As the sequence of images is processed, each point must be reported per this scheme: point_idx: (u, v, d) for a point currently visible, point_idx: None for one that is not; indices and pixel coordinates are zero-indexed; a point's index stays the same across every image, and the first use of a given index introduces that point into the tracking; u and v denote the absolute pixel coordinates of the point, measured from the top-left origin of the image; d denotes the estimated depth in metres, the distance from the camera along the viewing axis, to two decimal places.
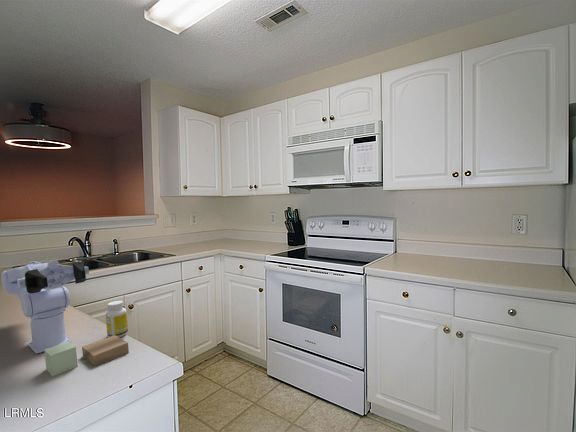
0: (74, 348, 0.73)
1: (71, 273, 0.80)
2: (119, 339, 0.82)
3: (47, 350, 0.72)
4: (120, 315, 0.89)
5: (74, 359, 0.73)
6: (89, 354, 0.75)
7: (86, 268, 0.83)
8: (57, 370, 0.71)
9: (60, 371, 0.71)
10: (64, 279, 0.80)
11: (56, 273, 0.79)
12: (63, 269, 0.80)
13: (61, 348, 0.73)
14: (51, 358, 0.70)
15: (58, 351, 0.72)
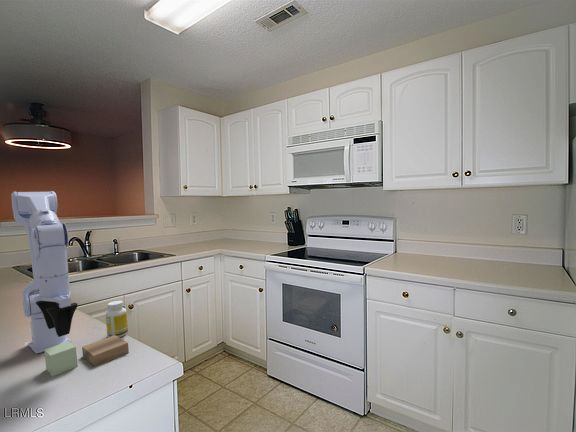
0: (74, 348, 0.73)
1: None
2: (119, 339, 0.82)
3: (47, 350, 0.72)
4: (120, 315, 0.89)
5: (74, 359, 0.73)
6: (89, 354, 0.75)
7: None
8: (57, 370, 0.71)
9: (60, 371, 0.71)
10: None
11: None
12: None
13: (61, 348, 0.73)
14: (51, 358, 0.70)
15: (58, 351, 0.72)
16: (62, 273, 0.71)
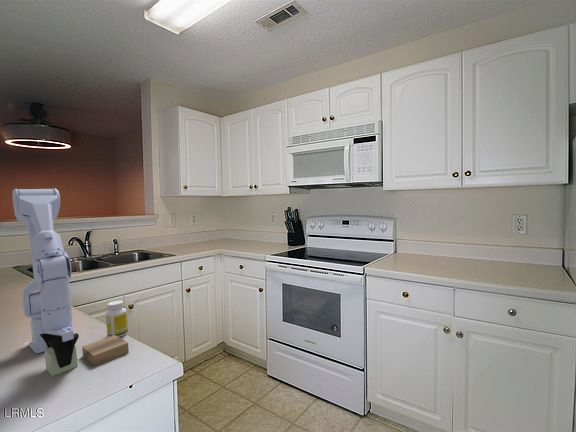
0: (74, 348, 0.73)
1: None
2: (119, 339, 0.82)
3: (47, 350, 0.72)
4: (120, 315, 0.89)
5: (74, 359, 0.73)
6: (89, 354, 0.75)
7: None
8: (57, 370, 0.71)
9: (60, 371, 0.71)
10: None
11: None
12: None
13: None
14: (51, 358, 0.70)
15: None
16: (65, 305, 0.72)
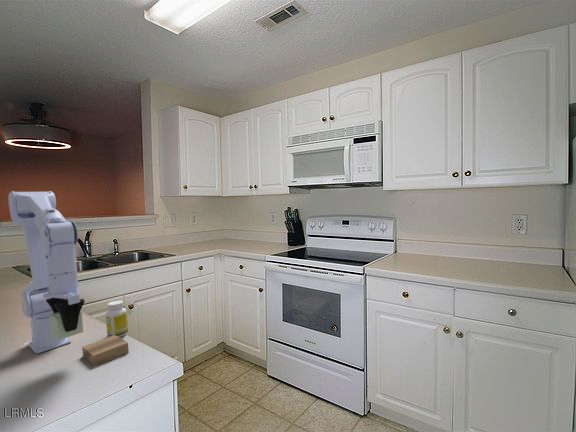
0: (80, 313, 0.74)
1: None
2: (119, 339, 0.82)
3: (53, 315, 0.73)
4: (120, 315, 0.89)
5: (80, 324, 0.74)
6: (89, 354, 0.75)
7: None
8: (63, 334, 0.71)
9: (66, 335, 0.72)
10: None
11: None
12: None
13: None
14: (57, 321, 0.71)
15: None
16: (72, 270, 0.73)
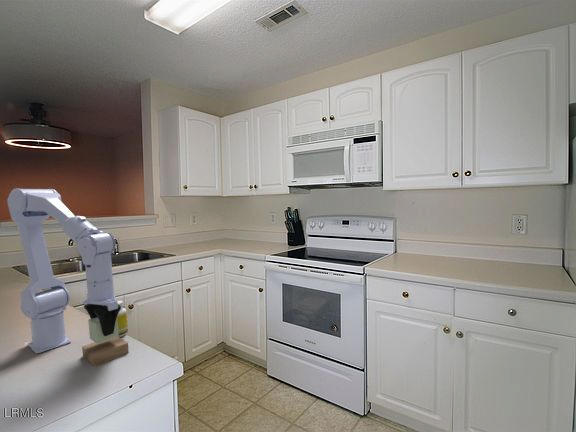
0: (116, 318, 0.79)
1: None
2: (119, 339, 0.82)
3: (91, 320, 0.78)
4: (120, 315, 0.89)
5: (116, 329, 0.79)
6: (89, 354, 0.75)
7: None
8: (101, 338, 0.76)
9: (104, 339, 0.77)
10: None
11: None
12: None
13: None
14: (96, 326, 0.75)
15: None
16: (111, 277, 0.79)
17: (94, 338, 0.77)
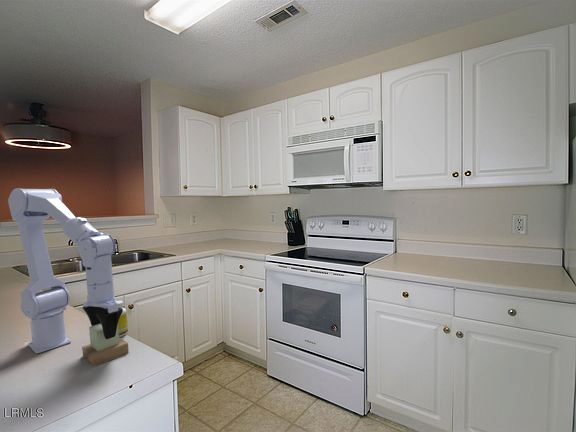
0: None
1: None
2: (119, 339, 0.82)
3: (92, 327, 0.78)
4: None
5: (116, 336, 0.79)
6: (89, 354, 0.75)
7: None
8: (102, 345, 0.77)
9: (104, 346, 0.77)
10: None
11: None
12: None
13: None
14: (97, 334, 0.76)
15: None
16: (111, 279, 0.79)
17: (95, 345, 0.77)
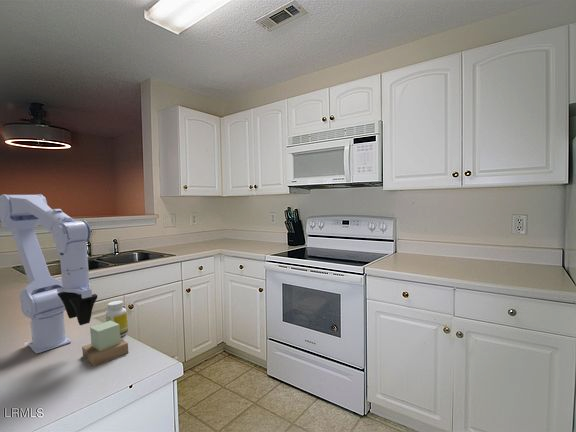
0: (118, 325, 0.79)
1: None
2: None
3: (93, 327, 0.78)
4: (120, 315, 0.89)
5: (118, 336, 0.79)
6: (89, 354, 0.75)
7: None
8: (104, 345, 0.77)
9: (106, 346, 0.77)
10: None
11: None
12: None
13: (106, 326, 0.79)
14: (99, 334, 0.76)
15: (104, 328, 0.77)
16: (86, 266, 0.78)
17: (96, 345, 0.77)
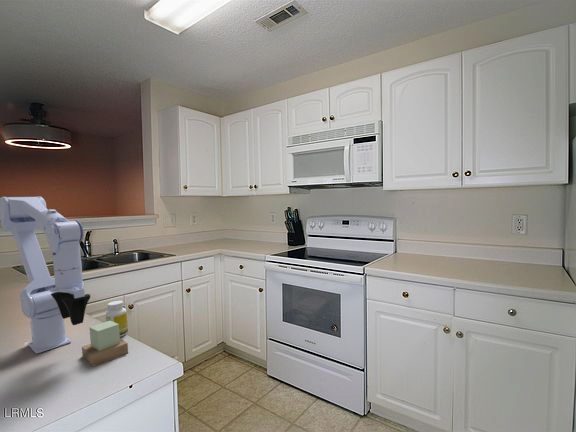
0: (117, 325, 0.79)
1: None
2: None
3: (92, 327, 0.78)
4: (120, 315, 0.89)
5: (117, 336, 0.79)
6: (88, 354, 0.75)
7: None
8: (103, 345, 0.77)
9: (106, 346, 0.77)
10: None
11: None
12: None
13: (105, 326, 0.79)
14: (98, 334, 0.76)
15: (103, 328, 0.77)
16: (78, 266, 0.78)
17: (96, 345, 0.77)
